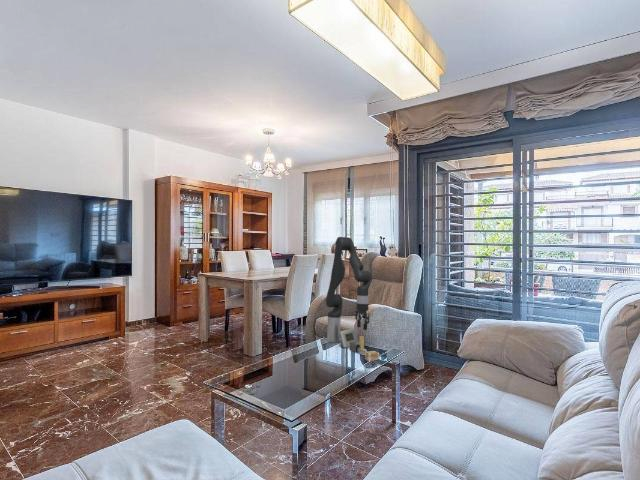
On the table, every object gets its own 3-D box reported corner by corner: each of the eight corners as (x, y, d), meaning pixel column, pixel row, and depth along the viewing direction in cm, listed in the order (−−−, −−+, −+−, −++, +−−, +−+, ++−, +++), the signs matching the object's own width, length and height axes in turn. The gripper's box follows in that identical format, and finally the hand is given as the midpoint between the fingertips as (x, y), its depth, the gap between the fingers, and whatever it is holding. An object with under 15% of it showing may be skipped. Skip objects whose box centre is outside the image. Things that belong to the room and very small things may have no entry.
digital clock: (343, 348, 235) (344, 332, 235) (335, 345, 242) (335, 330, 243) (362, 346, 244) (362, 330, 245) (353, 343, 252) (353, 327, 252)
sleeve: (349, 349, 233) (349, 342, 233) (358, 349, 235) (358, 341, 235) (354, 352, 226) (354, 344, 226) (363, 352, 229) (363, 344, 229)
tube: (349, 347, 237) (349, 332, 237) (353, 347, 238) (354, 331, 238) (362, 355, 220) (362, 338, 220) (367, 354, 221) (367, 338, 221)
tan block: (364, 358, 213) (365, 351, 213) (374, 358, 216) (375, 351, 216) (369, 361, 208) (369, 354, 209) (379, 360, 211) (379, 353, 211)
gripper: (352, 301, 231) (351, 326, 230) (362, 304, 218) (362, 331, 217) (362, 301, 234) (361, 326, 233) (373, 303, 221) (372, 330, 220)
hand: (362, 328), depth 225 cm, fingers open, 8 cm apart
